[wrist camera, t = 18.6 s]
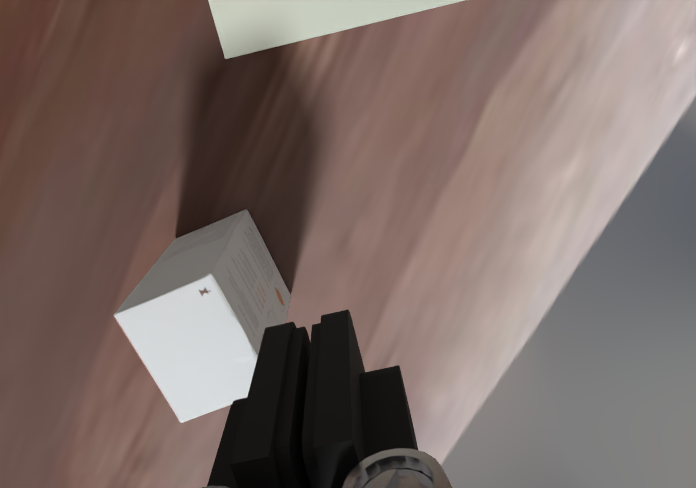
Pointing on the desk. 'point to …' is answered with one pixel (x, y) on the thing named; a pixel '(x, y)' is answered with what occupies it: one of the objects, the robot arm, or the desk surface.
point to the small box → (206, 314)
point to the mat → (299, 19)
